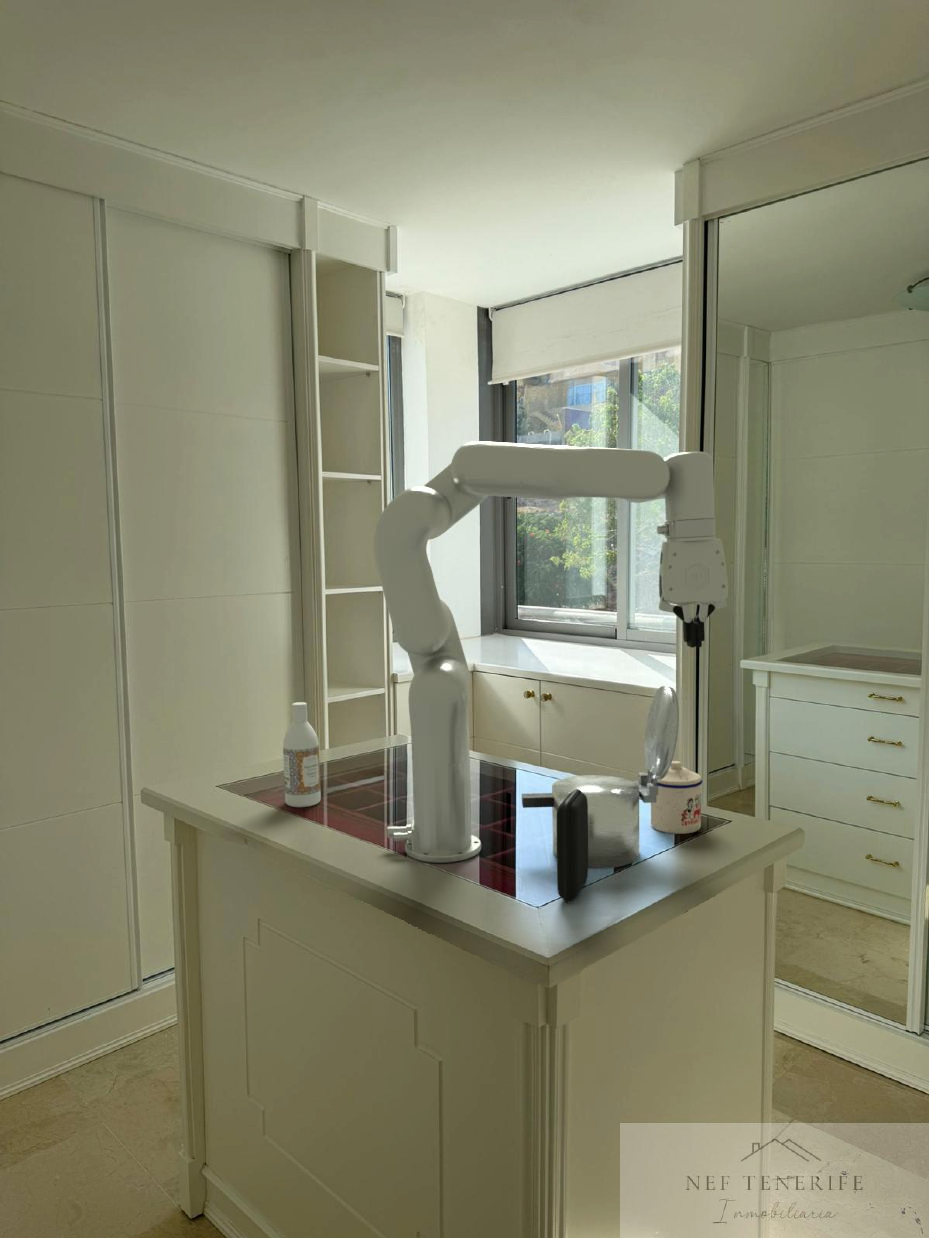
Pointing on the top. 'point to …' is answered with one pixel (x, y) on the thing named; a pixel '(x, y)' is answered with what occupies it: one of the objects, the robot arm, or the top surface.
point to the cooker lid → (661, 734)
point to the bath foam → (301, 760)
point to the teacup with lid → (678, 801)
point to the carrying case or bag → (572, 845)
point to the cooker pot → (603, 814)
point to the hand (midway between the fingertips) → (694, 646)
